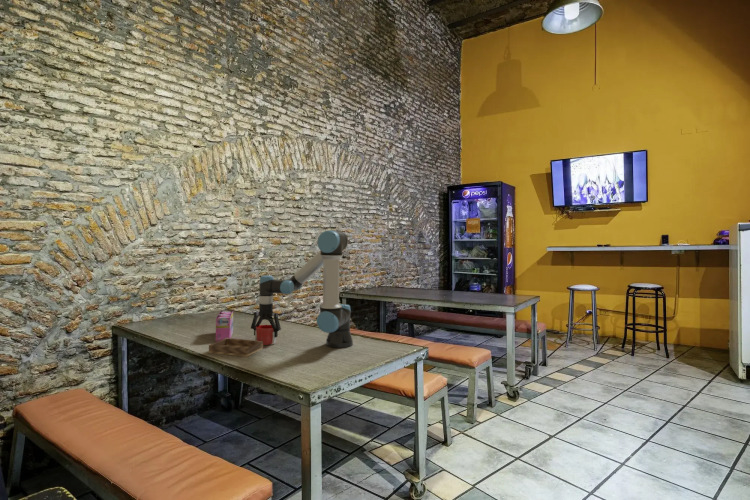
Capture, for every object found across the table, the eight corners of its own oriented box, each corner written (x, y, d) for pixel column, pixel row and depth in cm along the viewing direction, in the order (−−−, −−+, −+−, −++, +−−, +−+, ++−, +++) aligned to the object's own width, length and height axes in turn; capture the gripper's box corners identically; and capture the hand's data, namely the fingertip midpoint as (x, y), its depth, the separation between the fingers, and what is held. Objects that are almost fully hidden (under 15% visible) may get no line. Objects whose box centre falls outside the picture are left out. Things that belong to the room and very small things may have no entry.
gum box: (220, 331, 262) (220, 310, 262) (233, 331, 264) (233, 310, 264) (215, 341, 239) (215, 317, 239) (229, 340, 241) (230, 317, 241)
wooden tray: (262, 348, 226) (263, 341, 226) (246, 356, 211) (246, 348, 210) (227, 345, 232) (227, 337, 231) (208, 352, 216) (208, 345, 216)
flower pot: (268, 340, 244) (268, 323, 244) (278, 343, 237) (279, 326, 236) (252, 343, 237) (252, 326, 237) (261, 347, 229) (262, 329, 229)
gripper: (287, 303, 237) (287, 342, 238) (251, 300, 242) (251, 338, 243) (281, 305, 230) (280, 345, 230) (244, 302, 235) (244, 341, 236)
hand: (265, 342), depth 237 cm, fingers closed on flower pot, 10 cm apart
